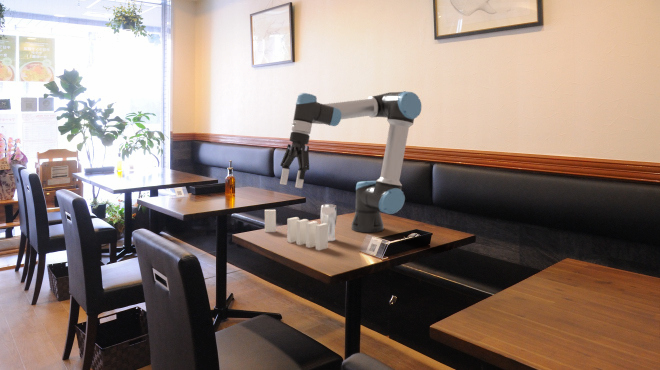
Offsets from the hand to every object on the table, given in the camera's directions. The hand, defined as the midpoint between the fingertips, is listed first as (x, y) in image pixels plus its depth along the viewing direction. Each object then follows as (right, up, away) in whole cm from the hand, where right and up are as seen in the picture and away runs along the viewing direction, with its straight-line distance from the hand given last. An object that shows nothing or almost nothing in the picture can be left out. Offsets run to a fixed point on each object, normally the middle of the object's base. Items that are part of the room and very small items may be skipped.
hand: (290, 186), depth 191 cm
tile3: (+4, -24, +13) cm, 28 cm away
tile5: (+12, -25, +6) cm, 29 cm away
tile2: (0, -24, +17) cm, 29 cm away
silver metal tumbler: (+15, -23, +20) cm, 34 cm away
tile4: (+8, -25, +9) cm, 28 cm away
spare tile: (-12, -21, +33) cm, 41 cm away
